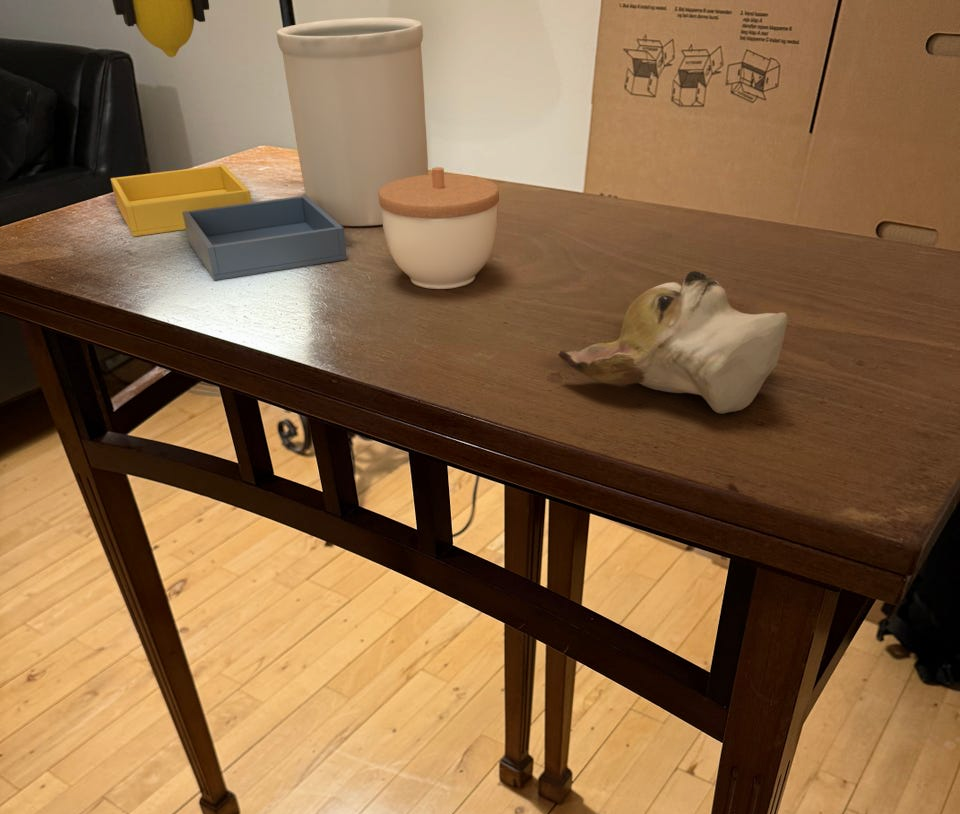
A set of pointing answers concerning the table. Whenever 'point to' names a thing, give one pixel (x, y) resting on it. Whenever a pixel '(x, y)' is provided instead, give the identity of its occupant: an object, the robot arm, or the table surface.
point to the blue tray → (264, 236)
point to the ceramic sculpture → (688, 345)
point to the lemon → (164, 22)
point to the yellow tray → (175, 196)
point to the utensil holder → (356, 110)
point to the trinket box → (440, 226)
